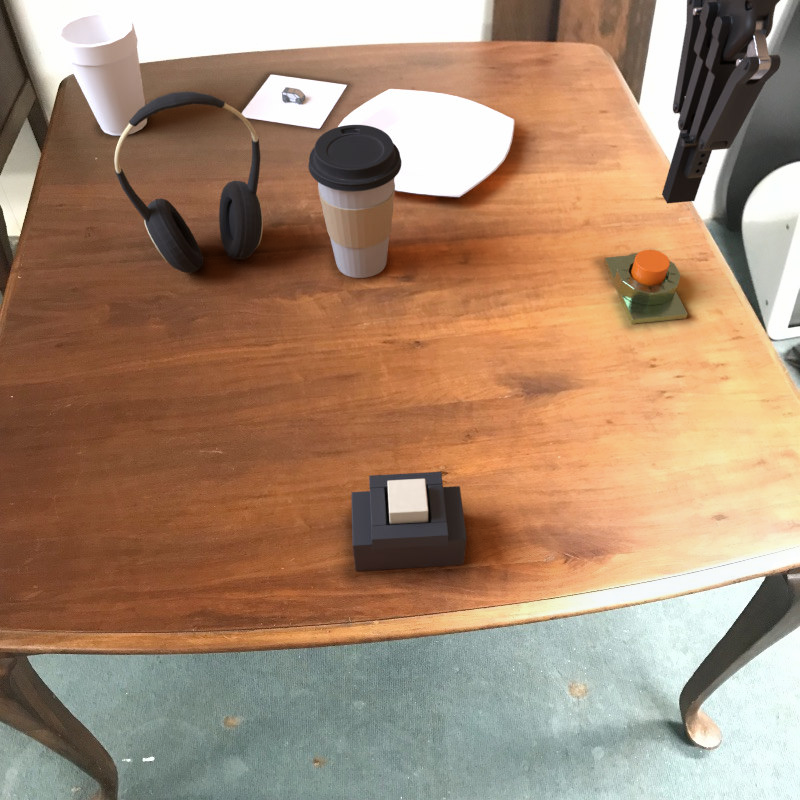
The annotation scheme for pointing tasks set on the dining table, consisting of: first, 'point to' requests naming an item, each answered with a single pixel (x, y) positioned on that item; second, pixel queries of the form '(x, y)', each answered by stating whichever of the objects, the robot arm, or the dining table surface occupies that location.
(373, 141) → the coffee cup
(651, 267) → the round orange push button
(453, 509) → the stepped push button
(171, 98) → the headphones
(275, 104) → the white square card
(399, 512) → the key
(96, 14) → the foam cup
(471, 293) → the dining table surface
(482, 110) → the plate
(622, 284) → the switch block
